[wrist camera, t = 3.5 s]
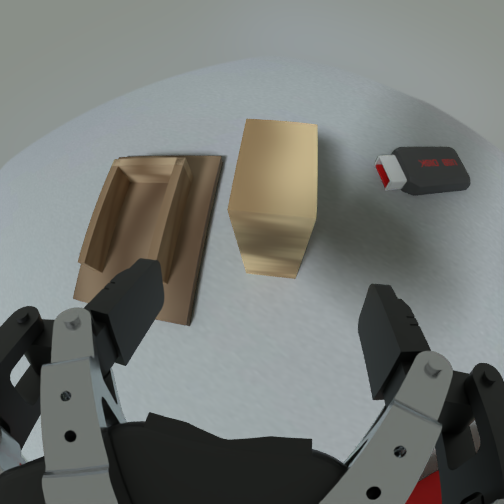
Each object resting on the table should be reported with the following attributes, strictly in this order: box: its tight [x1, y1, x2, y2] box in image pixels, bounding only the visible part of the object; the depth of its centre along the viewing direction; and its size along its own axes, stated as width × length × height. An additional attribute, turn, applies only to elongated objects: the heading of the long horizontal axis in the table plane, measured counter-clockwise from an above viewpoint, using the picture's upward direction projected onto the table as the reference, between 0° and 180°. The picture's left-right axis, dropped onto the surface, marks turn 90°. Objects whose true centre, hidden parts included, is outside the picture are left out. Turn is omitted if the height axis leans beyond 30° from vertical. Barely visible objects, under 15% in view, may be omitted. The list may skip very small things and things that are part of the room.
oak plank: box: [228, 119, 318, 279], centre depth 18 cm, size 4×6×11 cm, turn 172°
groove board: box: [73, 156, 223, 326], centre depth 23 cm, size 12×16×4 cm
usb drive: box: [374, 147, 470, 195], centre depth 24 cm, size 5×12×3 cm, turn 99°
